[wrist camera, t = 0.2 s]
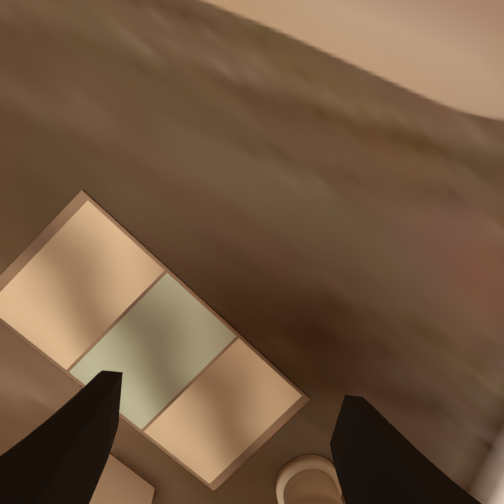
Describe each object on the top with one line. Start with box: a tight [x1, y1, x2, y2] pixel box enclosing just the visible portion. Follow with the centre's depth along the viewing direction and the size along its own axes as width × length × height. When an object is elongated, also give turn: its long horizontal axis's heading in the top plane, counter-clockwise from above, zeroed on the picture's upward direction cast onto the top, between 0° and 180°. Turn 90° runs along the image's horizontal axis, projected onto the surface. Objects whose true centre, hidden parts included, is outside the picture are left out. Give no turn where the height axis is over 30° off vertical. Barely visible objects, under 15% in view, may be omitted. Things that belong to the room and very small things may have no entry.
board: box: [0, 190, 310, 491], centre depth 22 cm, size 9×19×1 cm, turn 45°
